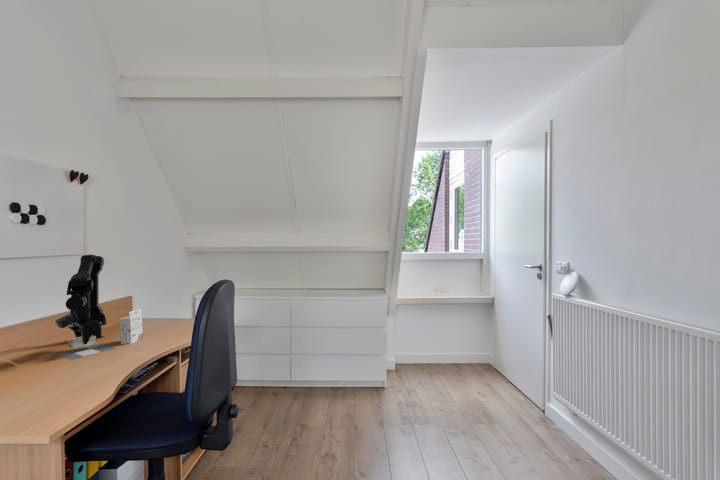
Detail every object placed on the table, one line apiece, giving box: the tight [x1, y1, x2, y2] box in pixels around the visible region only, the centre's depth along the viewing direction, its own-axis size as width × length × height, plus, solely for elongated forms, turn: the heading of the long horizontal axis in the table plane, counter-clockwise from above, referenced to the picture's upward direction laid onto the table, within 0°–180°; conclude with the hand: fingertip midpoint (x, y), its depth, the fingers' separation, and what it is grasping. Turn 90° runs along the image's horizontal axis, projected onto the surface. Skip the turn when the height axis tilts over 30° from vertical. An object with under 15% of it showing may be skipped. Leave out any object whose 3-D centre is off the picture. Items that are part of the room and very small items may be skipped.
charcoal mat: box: [56, 343, 117, 360], centre depth 151 cm, size 15×16×1 cm
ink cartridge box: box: [119, 308, 144, 345], centre depth 164 cm, size 9×5×15 cm, turn 179°
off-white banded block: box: [67, 335, 97, 349], centre depth 153 cm, size 5×8×3 cm, turn 149°
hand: (82, 343), depth 153 cm, fingers closed on off-white banded block, 5 cm apart
